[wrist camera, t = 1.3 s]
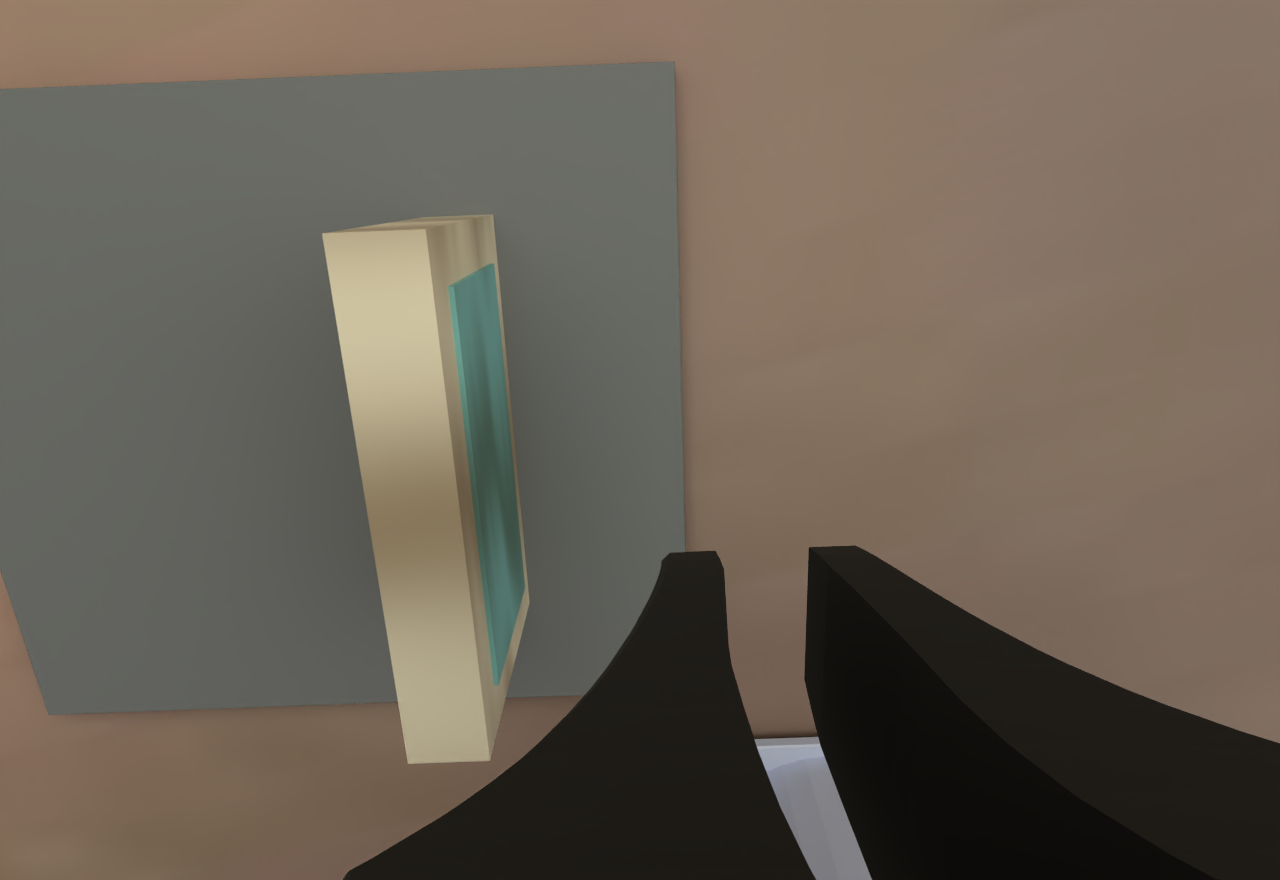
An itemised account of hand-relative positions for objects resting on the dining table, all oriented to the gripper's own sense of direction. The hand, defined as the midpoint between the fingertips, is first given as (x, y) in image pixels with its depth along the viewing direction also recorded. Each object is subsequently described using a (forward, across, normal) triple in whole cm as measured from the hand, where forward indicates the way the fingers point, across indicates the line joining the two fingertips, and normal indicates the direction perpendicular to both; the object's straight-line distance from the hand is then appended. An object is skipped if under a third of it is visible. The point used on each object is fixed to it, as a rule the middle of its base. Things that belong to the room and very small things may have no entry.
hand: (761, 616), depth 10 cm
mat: (+10, +10, 0) cm, 14 cm away
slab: (+9, +6, 0) cm, 11 cm away
